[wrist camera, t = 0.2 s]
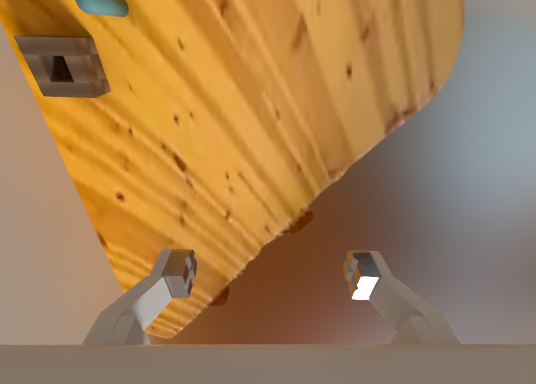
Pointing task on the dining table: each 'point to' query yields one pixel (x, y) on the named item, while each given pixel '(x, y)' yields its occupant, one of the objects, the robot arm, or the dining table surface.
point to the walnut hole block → (64, 65)
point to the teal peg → (104, 7)
